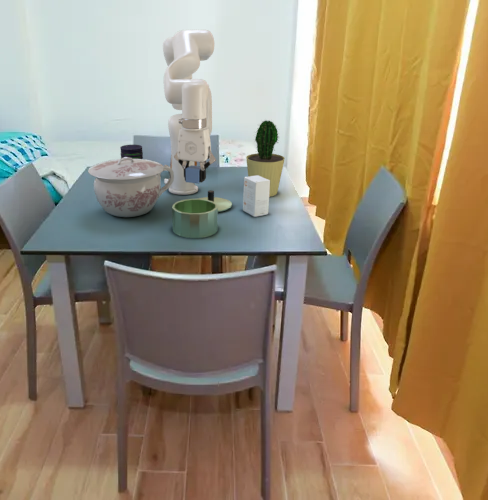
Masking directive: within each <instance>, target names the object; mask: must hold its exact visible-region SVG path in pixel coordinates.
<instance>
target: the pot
mask: <svg viewBox="0 0 488 500" xmlns="http://www.w3.org/2000/svg"><path fill="white" fill-rule="evenodd" d="M218 215H219V212H218V205H217V204H216V203H215V202H213V201H209V200H205V199H198V198H188V199H181V200H178V201H176V202H174V203H173V204H172V207H171V218H172V232H173V233H174V234H175V235H177V236H178V237H181V238H187V239H203V238H208V237H211V236H214V235H215V234H216V233H217V232H218V222H219V219H218V217H219V216H218Z"/></svg>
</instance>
